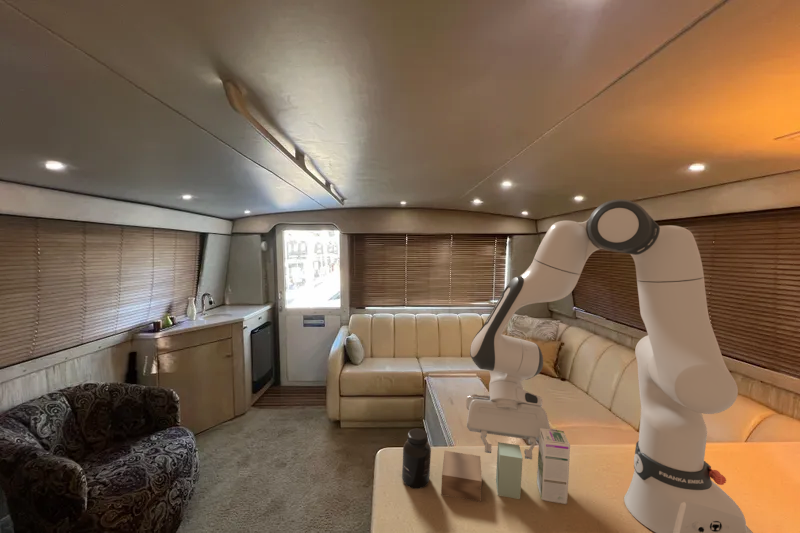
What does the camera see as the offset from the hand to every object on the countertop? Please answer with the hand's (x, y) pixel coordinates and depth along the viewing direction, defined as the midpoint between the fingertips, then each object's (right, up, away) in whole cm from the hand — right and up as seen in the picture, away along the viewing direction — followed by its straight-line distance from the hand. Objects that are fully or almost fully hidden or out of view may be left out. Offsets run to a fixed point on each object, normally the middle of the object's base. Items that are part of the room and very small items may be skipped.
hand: (508, 455), depth 81 cm
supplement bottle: (-22, -7, +1) cm, 24 cm away
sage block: (0, -8, -1) cm, 8 cm away
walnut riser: (-11, -7, 0) cm, 13 cm away
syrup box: (+10, -8, -2) cm, 13 cm away
